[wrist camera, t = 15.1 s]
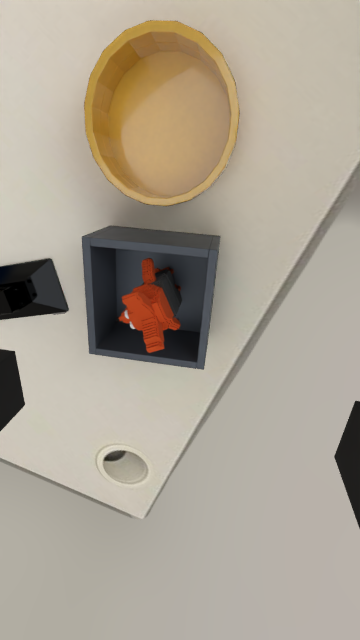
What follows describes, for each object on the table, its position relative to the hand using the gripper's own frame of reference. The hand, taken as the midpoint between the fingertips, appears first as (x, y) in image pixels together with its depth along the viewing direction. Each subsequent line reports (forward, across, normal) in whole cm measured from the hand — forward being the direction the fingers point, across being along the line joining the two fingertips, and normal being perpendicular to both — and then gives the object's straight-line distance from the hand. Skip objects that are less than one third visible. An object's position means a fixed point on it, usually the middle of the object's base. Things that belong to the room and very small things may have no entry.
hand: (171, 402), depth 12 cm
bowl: (+26, -6, +12) cm, 29 cm away
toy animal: (+25, -6, -4) cm, 26 cm away
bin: (+25, -6, -4) cm, 26 cm away
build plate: (+25, -25, -7) cm, 36 cm away
